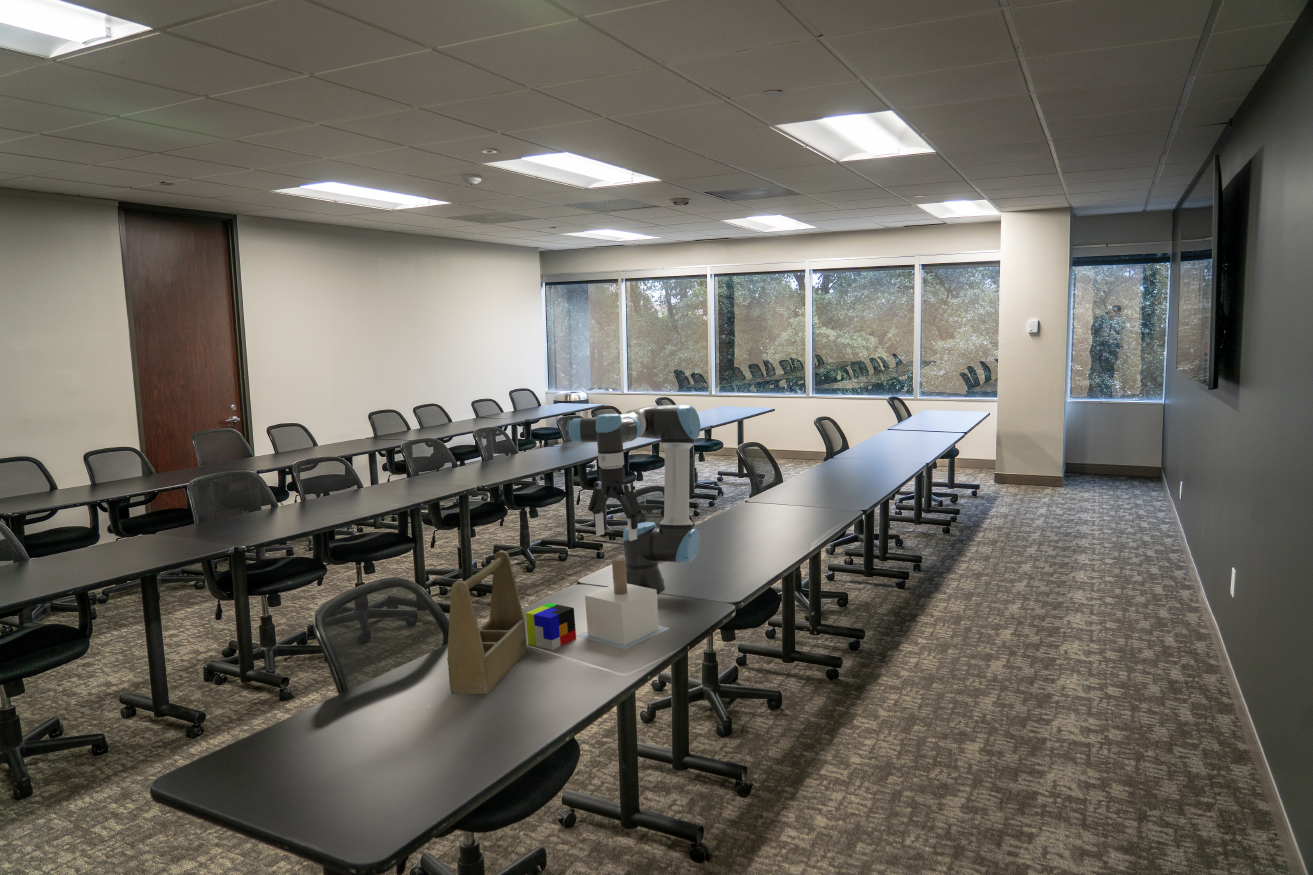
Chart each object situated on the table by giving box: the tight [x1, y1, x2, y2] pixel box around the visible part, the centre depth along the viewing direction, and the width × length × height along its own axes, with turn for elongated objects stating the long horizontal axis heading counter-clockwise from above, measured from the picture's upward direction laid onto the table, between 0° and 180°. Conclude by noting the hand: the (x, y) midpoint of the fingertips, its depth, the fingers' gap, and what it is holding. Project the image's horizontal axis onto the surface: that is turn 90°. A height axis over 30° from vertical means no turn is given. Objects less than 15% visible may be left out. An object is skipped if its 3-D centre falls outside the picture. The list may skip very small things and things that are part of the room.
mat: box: [576, 625, 671, 650], centre depth 250 cm, size 20×20×1 cm
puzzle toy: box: [525, 602, 577, 651], centre depth 246 cm, size 10×10×10 cm
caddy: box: [447, 550, 528, 695], centre depth 226 cm, size 29×11×30 cm, turn 168°
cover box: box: [584, 557, 660, 645], centre depth 249 cm, size 15×15×22 cm
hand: (616, 537), depth 247 cm, fingers open, 13 cm apart
